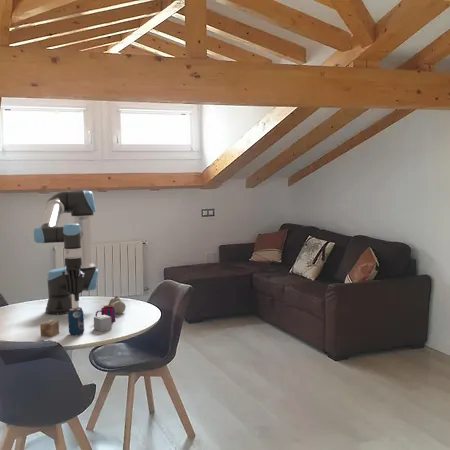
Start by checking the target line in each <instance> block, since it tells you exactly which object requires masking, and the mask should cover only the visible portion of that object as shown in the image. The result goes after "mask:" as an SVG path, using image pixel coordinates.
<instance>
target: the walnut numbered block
mask: <svg viewBox="0 0 450 450" xmlns="http://www.w3.org/2000/svg"><path fill="white" fill-rule="evenodd" d="M39 327H40V328H39V329H40V337H42V338H54V337H55V336H57V335H59V334H60V322H59V320H46V321H45V320H44V321H43V322H41V323H40V324H39Z"/></svg>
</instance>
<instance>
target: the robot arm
mask: <svg viewBox="0 0 450 450" xmlns="http://www.w3.org/2000/svg"><path fill="white" fill-rule="evenodd" d="M95 200H96V199H95V196H94V193H93V191H90V190H68V191H67V190H64V191H59V192H57V193H55V194H53V195H52V196H51V197H50V198H48V200H47V202H46V204H45V208H44V210H45V211H44V212H45V213H44V216H43V219H42V222H41V225H40V226H37V227H34V229H33V241H34V242H35V243H37V244H52V243H53V244H54V243H57V244H58V243H63V246H64V247H63V250H64V257H65V258H64V266H65V267H58V268H54V269H51V270H49V271H48V272H47V293H48V296H47V297H48V299H47V303H46V306H45V313H46V314H48V315H64V314H68V312H69V309H70V308H78V307H80V306H79V305H80V304H79V302H80V294H81V293H83V292H90V291H95V290H97V287H98V281H99V271H100V270H99V269H98V268H96V267H97V266H96V264H95V263H94V262H93V242H92V239H93V238H92V218H93V216H94V213H95V212H97V205H96V201H95ZM63 214H70V216H71V218H72V219H73V220H74V223H73V222H72V223H65V224H63V226H59V224H60V220H61V215H63Z"/></svg>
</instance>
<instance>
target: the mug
mask: <svg viewBox="0 0 450 450" xmlns="http://www.w3.org/2000/svg"><path fill="white" fill-rule="evenodd" d="M99 312H100V313H101V315H107V316H110V317H111V324H112V323H114V322H116V314H115V307H111V306H109V307H104V306H103V307H101V308H100V309H99V310H97V311H96V312H95V317H96V316H98V313H99Z"/></svg>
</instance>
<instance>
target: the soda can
mask: <svg viewBox="0 0 450 450" xmlns="http://www.w3.org/2000/svg"><path fill="white" fill-rule="evenodd" d="M67 319H68V333H69V335H71V336H72V335H73V336H74V337H75V336H76V335H78V336H82V335H83V334H84V332H85V322H84V311H83V308H82V307H81V306H79V307H78V308H70V309H69V312H68V313H67ZM76 337H77V336H76Z"/></svg>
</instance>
